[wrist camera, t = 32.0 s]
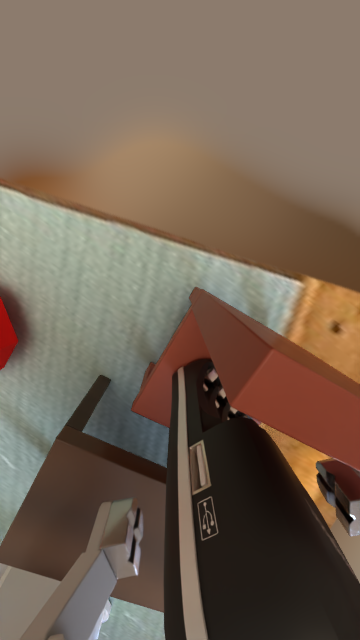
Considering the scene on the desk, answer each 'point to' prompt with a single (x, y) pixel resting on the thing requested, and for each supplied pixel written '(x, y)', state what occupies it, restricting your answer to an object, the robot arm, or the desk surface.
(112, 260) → the desk surface
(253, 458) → the battery charger
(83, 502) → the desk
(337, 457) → the chair
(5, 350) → the ball
